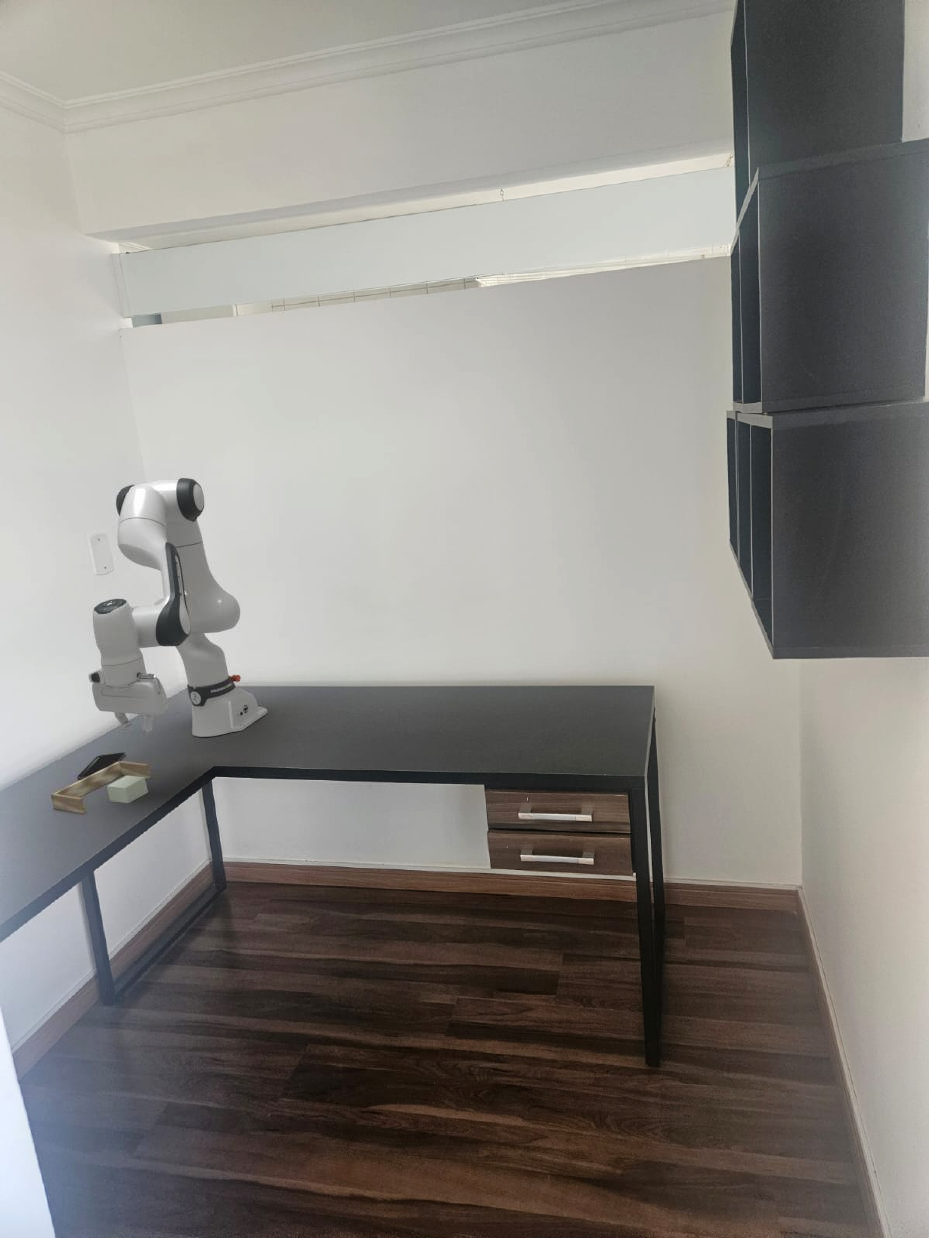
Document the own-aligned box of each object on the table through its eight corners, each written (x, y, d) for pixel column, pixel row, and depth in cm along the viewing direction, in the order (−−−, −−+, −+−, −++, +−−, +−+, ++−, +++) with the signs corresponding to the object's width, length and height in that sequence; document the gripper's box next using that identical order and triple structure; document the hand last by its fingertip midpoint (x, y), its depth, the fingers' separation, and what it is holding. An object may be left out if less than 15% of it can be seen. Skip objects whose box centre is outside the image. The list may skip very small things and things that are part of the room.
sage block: (130, 790, 208) (126, 775, 207) (148, 792, 205) (144, 777, 204) (110, 801, 203) (106, 785, 202) (128, 804, 200) (125, 788, 199)
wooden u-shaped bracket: (122, 773, 219) (119, 760, 218) (151, 777, 214) (148, 764, 213) (54, 808, 202) (50, 794, 201) (83, 813, 197) (79, 799, 196)
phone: (75, 777, 218) (97, 755, 233) (76, 782, 218) (98, 759, 233) (106, 773, 218) (126, 751, 233) (107, 778, 218) (127, 755, 233)
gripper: (168, 669, 191) (180, 728, 194) (105, 666, 200) (118, 722, 204) (146, 678, 185) (159, 738, 188) (83, 675, 195) (96, 732, 198)
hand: (137, 730), depth 196 cm, fingers open, 5 cm apart
